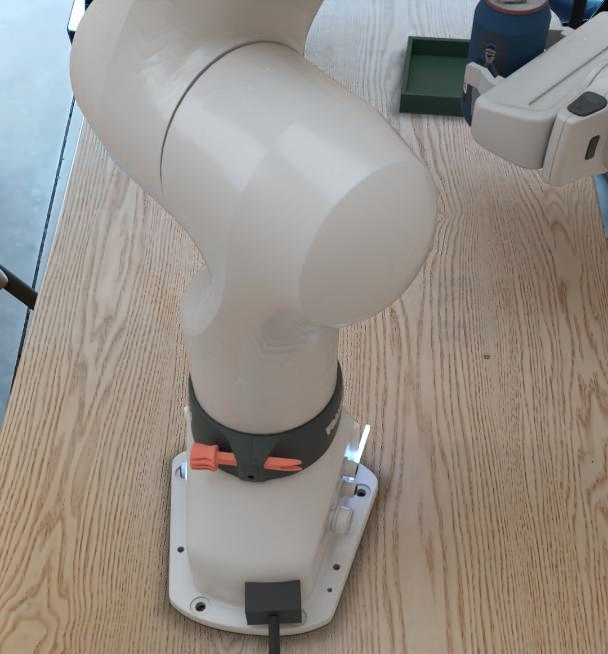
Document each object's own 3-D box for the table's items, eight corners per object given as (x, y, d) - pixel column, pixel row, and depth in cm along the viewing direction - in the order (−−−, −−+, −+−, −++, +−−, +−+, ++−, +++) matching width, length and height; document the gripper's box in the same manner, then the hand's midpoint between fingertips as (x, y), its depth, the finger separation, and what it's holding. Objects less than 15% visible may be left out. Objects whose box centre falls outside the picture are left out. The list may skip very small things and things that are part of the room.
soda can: (524, 97, 86) (551, -29, 75) (531, 140, 82) (560, 14, 72) (457, 98, 86) (474, -28, 75) (460, 140, 83) (480, 15, 72)
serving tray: (499, 119, 101) (503, 100, 98) (399, 112, 102) (400, 93, 99) (502, 60, 106) (505, 41, 104) (406, 54, 107) (408, 35, 105)
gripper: (699, 26, 74) (572, -30, 79) (560, 131, 68) (431, 62, 73) (673, 93, 80) (556, 37, 85) (542, 197, 73) (423, 129, 78)
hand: (497, 50), depth 79 cm, fingers closed on soda can, 7 cm apart
